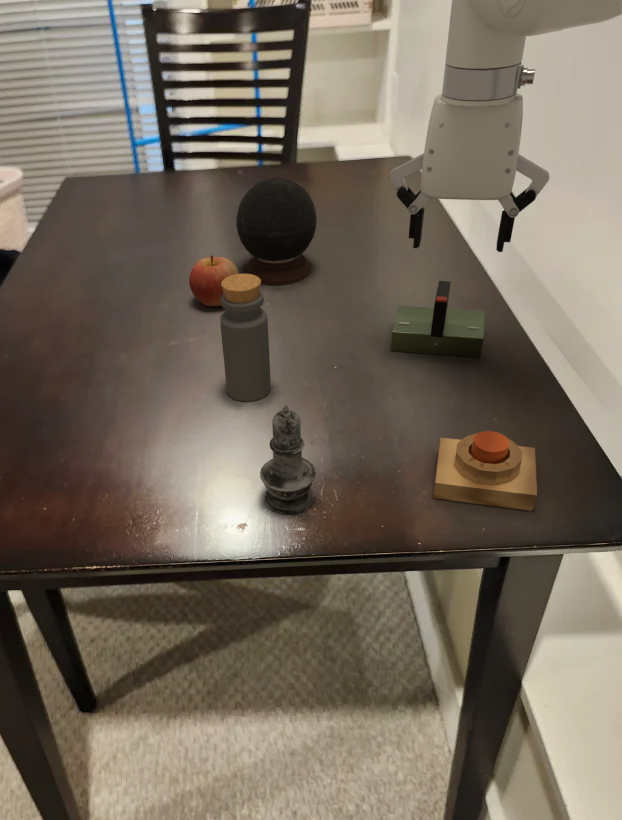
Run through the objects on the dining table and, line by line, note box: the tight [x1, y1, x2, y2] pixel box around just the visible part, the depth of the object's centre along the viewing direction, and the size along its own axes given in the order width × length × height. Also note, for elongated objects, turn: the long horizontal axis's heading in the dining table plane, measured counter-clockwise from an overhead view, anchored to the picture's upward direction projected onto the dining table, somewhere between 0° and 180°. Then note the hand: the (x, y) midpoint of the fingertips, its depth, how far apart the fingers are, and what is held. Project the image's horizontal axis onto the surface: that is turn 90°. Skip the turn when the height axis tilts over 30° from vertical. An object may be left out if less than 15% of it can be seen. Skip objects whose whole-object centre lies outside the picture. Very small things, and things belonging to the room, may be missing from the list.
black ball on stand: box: [236, 177, 318, 286], centre depth 113 cm, size 13×13×15 cm
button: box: [471, 430, 510, 464], centre depth 72 cm, size 4×4×2 cm
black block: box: [430, 280, 452, 337], centre depth 93 cm, size 6×2×5 cm, turn 164°
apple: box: [188, 254, 240, 307], centre depth 108 cm, size 8×8×8 cm
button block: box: [432, 432, 538, 512], centre depth 73 cm, size 10×8×4 cm
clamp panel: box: [390, 305, 486, 359], centre depth 95 cm, size 12×11×3 cm
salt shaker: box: [259, 404, 317, 516], centre depth 70 cm, size 6×6×12 cm
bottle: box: [219, 273, 272, 402], centre depth 86 cm, size 6×6×15 cm
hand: (457, 245), depth 83 cm, fingers open, 9 cm apart
